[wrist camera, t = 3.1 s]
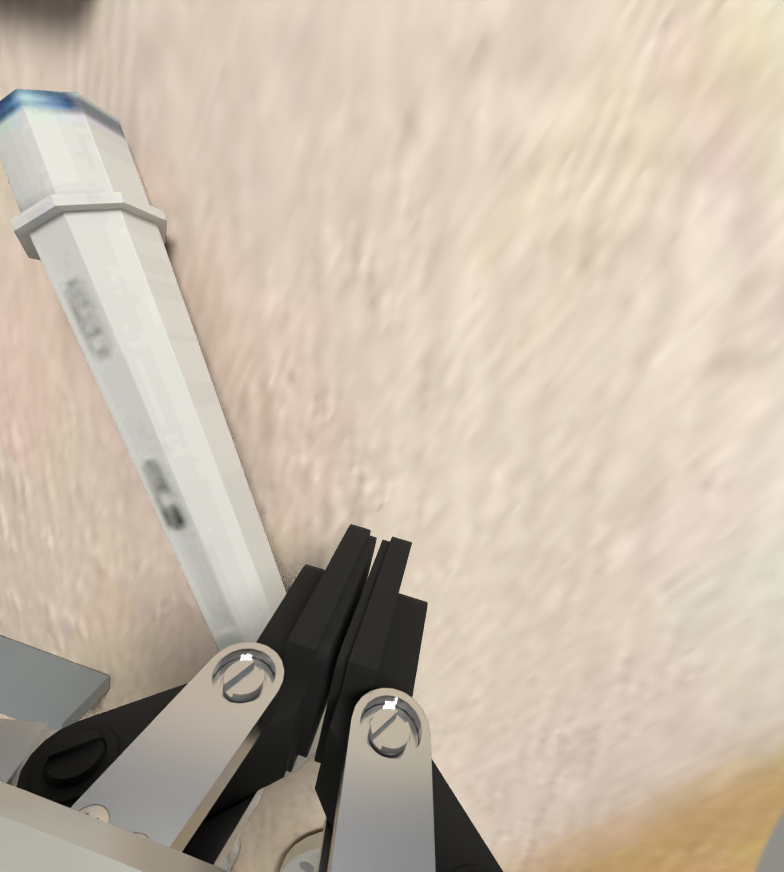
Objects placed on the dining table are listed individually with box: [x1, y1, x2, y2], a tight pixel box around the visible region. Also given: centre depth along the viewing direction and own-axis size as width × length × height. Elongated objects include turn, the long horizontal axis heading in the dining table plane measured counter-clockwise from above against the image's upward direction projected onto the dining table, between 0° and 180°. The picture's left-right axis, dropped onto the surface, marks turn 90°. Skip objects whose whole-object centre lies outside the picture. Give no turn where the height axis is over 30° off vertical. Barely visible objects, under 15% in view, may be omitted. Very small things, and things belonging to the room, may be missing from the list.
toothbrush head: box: [0, 89, 327, 776], centre depth 17 cm, size 5×7×25 cm
